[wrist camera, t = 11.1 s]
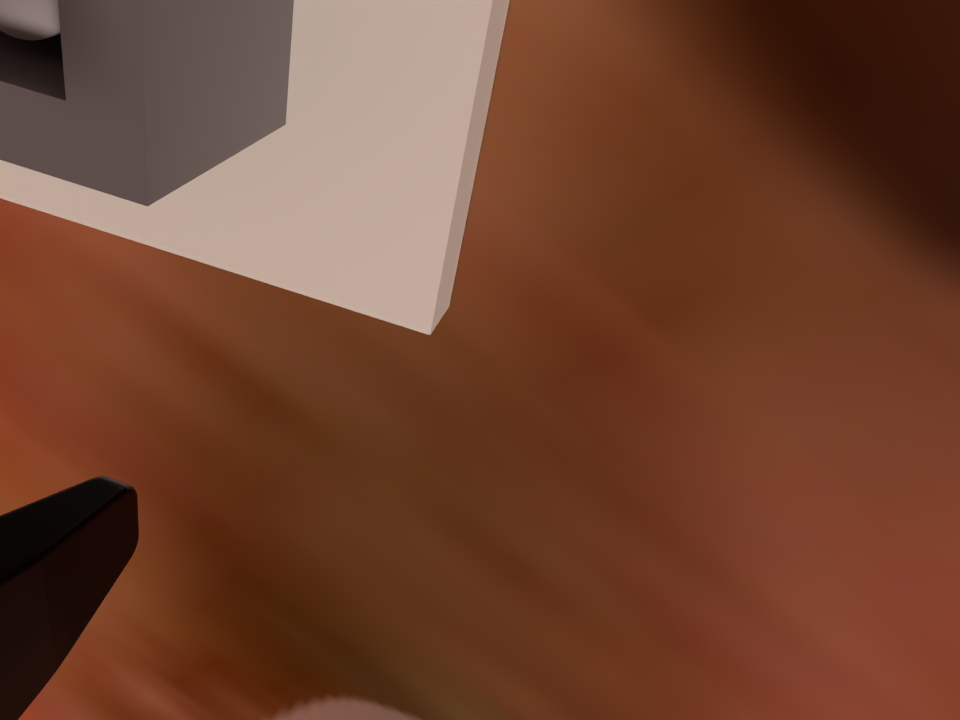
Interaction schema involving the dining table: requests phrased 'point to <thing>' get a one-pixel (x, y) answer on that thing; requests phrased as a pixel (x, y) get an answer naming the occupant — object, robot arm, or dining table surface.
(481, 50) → the base plate
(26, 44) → the grey box housing
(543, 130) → the dining table surface
